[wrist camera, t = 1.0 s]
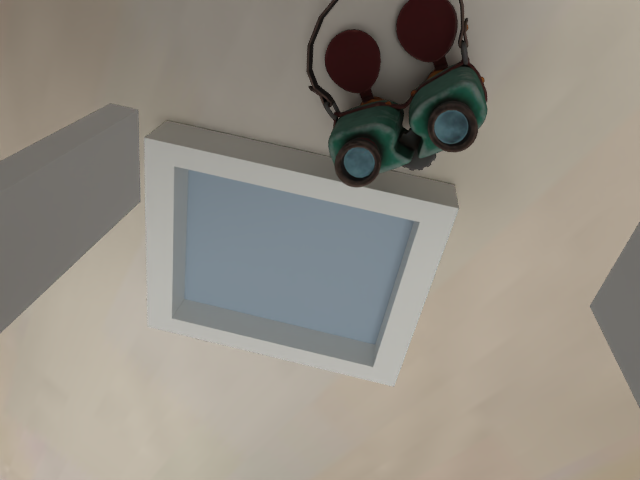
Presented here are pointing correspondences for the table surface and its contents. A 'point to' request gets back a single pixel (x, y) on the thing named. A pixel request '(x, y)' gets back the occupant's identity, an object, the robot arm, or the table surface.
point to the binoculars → (425, 103)
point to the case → (288, 251)
